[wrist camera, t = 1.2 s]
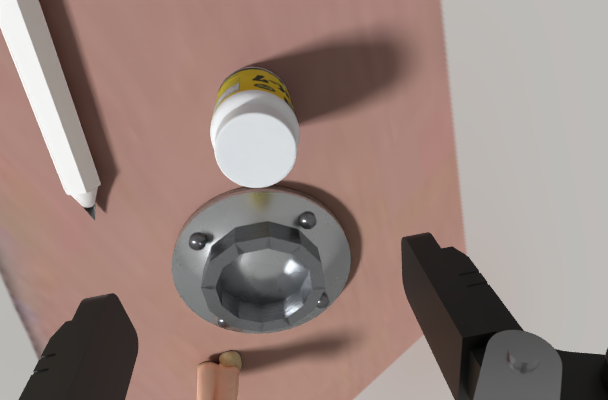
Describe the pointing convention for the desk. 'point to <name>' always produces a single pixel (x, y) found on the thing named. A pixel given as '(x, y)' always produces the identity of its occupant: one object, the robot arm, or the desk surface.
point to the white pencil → (50, 98)
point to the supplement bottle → (254, 128)
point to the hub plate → (261, 259)
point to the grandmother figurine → (219, 378)
